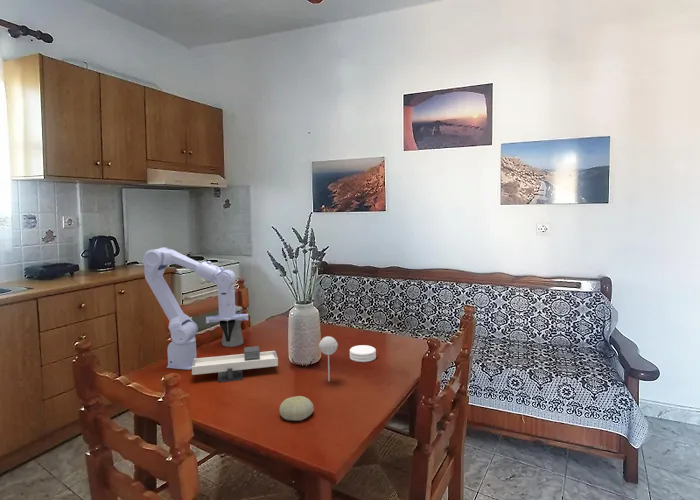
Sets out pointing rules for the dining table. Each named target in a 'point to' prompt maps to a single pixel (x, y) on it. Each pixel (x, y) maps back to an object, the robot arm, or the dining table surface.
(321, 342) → the lollipop
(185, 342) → the robot arm
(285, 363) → the dining table surface
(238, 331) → the coffeepot
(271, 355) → the beam
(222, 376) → the stand
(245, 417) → the dining table surface
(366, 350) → the coaster
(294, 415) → the sea urchin shell
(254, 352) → the grey block
